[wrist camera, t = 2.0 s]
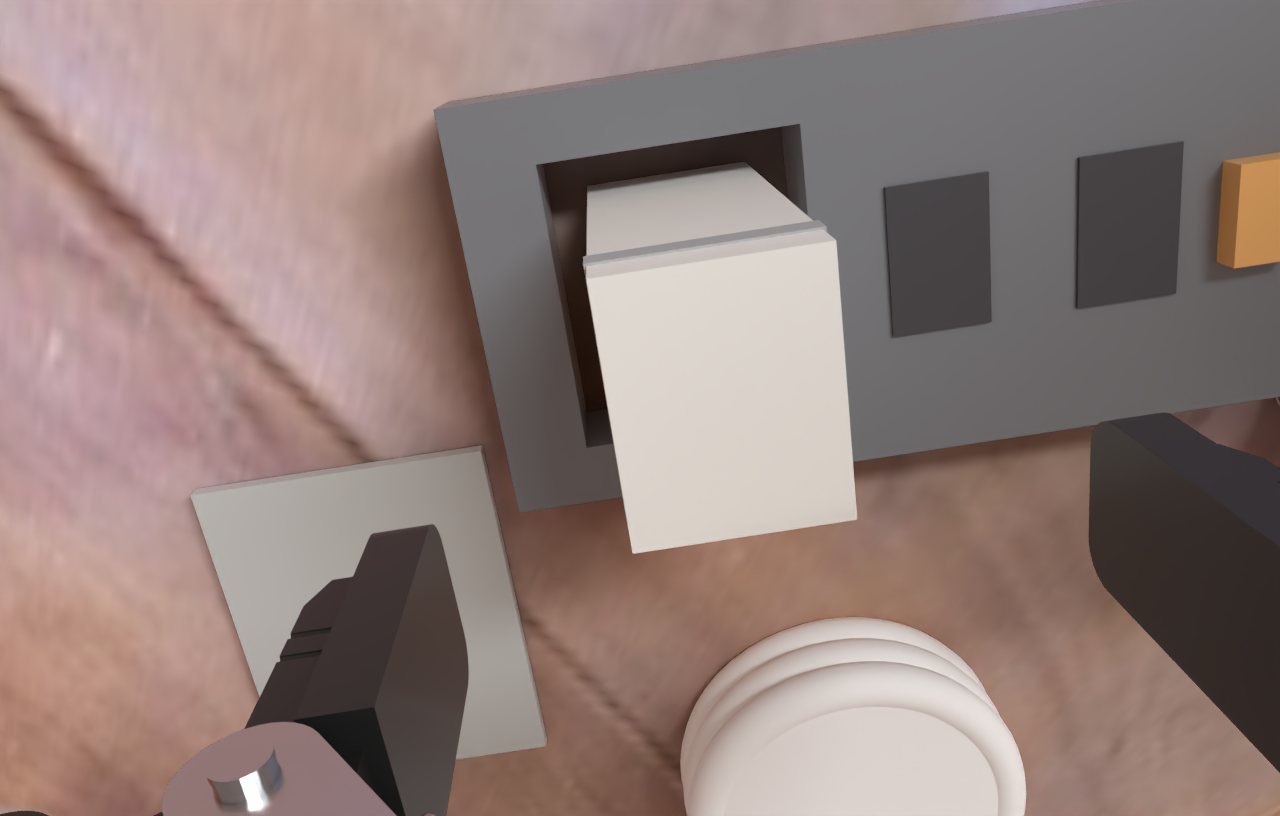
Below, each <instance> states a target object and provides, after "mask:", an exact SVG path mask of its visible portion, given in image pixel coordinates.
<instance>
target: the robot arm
mask: <svg viewBox="0 0 1280 816" xmlns="http://www.w3.org/2000/svg"><path fill="white" fill-rule="evenodd" d="M1089 546H1090V553H1091V557H1092V561H1093V564H1094V567H1095V570H1096V572H1097V575H1098V577H1099V579H1100V581H1101V582H1102V584H1103V586H1104V587H1105V588H1106V589H1107V591H1108V592H1109V593H1110V594H1111V595H1112V596H1113V597H1114V598H1115V599H1116V600H1117V601H1118V602H1119V603H1120V604H1121V605H1122V607H1123V608H1124V609H1125V610H1126V611H1127V612H1128V613H1129V614H1130V615H1131V616H1132V617H1133V618H1134V619H1135V620H1136V621H1137V622H1138V623H1139V624H1140V626H1141V627H1142V628H1143V629H1144V630H1145V631H1146V632H1147V633H1148V634H1149V635H1150V636H1151V637H1152V638H1153V639H1154V640H1155V641H1156V642H1157V643H1158V645H1159V646H1160V647H1161V648H1162V649H1163V650H1164V651H1165V652H1166V653H1167V654H1168V655H1169V656H1170V657H1171V658H1172V659H1173V660H1174V661H1175V662H1176V664H1177V665H1178V666H1179V667H1180V668H1181V669H1182V670H1183V671H1184V672H1185V673H1186V674H1187V675H1188V676H1189V677H1190V678H1191V679H1192V680H1193V682H1194V683H1195V684H1196V685H1197V686H1198V687H1199V688H1200V689H1201V690H1202V691H1203V692H1204V693H1205V694H1206V695H1207V696H1208V697H1209V698H1210V699H1211V701H1212V702H1213V703H1214V704H1215V705H1216V706H1217V707H1218V708H1219V709H1220V710H1221V711H1222V712H1223V713H1224V714H1225V715H1226V716H1227V717H1228V718H1229V720H1230V721H1231V722H1232V723H1233V724H1234V725H1235V726H1236V727H1237V728H1238V729H1239V730H1240V731H1241V732H1242V733H1243V734H1244V735H1245V736H1246V737H1247V739H1248V740H1249V741H1250V742H1251V743H1252V744H1253V745H1254V746H1255V747H1256V748H1257V749H1258V750H1259V751H1260V752H1261V753H1262V754H1263V755H1264V756H1265V758H1266V759H1267V760H1268V761H1269V762H1270V763H1271V764H1272V765H1273V766H1274V767H1275V768H1276V769H1277V770H1278V771H1279V772H1280V469H1279V468H1278V467H1276V466H1275V465H1273V464H1271V463H1270V462H1268V461H1267V460H1265V459H1263V458H1260V457H1257V456H1254V455H1251V454H1248V453H1245V452H1241V451H1238V450H1235V449H1232V448H1229V447H1226V446H1223V445H1220V444H1216V443H1214V442H1213V441H1211V440H1210V439H1208V438H1206V437H1205V436H1203V435H1202V434H1200V433H1199V432H1197V431H1196V430H1194V429H1192V428H1191V427H1189V426H1188V425H1186V424H1185V423H1183V422H1182V421H1180V420H1179V419H1177V418H1175V417H1174V416H1172V415H1170V414H1168V413H1165V412H1162V413H1155V414H1148V415H1142V416H1135V417H1129V418H1123V419H1116V420H1110V421H1103V422H1100V423H1099V424H1098V425H1097V426H1096V427H1095V429H1094V431H1093V434H1092V439H1091V454H1090V502H1089ZM290 634H291V639H287V642H286V644H285V646H284V648H283V650H282V652H281V654H280V656H279V657H280V662H276V664H275V667H274V669H273V671H272V673H271V675H270V677H269V679H268V681H267V683H266V685H265V687H264V689H263V692H262V694H261V696H260V698H259V700H258V702H257V704H256V706H255V708H254V710H253V712H252V714H251V717H250V719H249V721H248V723H247V725H246V727H245V729H243V730H241V731H238V732H235V733H233V734H231V735H228V736H226V737H224V738H222V739H220V740H218V741H216V742H215V743H213V744H211V745H210V746H208V747H206V748H205V749H203V750H202V751H201V752H199V753H198V754H196V755H195V756H194V757H193V758H191V759H190V760H189V761H188V762H187V763H186V764H184V766H183V767H182V768H181V769H180V770H179V771H178V772H177V773H176V774H175V776H174V777H173V778H172V780H171V781H170V783H169V784H168V786H167V788H166V790H165V792H164V795H163V799H162V812H160V813H158V814H156V815H154V816H446V814H447V808H448V802H449V796H450V790H451V784H452V778H453V772H454V766H455V760H456V755H457V749H458V743H459V737H460V731H461V725H462V719H463V713H464V707H465V702H466V696H467V690H468V680H469V666H468V653H467V646H466V640H465V635H464V630H463V626H462V622H461V618H460V614H459V609H458V605H457V601H456V597H455V593H454V589H453V585H452V581H451V576H450V572H449V568H448V564H447V560H446V556H445V552H444V548H443V544H442V540H441V537H440V534H439V532H438V530H437V528H436V526H435V525H433V524H430V525H423V526H417V527H410V528H404V529H397V530H391V531H385V532H378V533H372V534H371V535H370V537H369V539H368V542H367V544H366V547H365V549H364V551H363V554H362V556H361V559H360V561H359V563H358V566H357V568H356V571H355V573H354V575H353V577H347V578H341V579H335V580H332V581H330V582H329V583H328V584H327V585H326V586H325V587H324V588H323V589H322V590H321V591H319V592H318V593H317V594H316V595H315V596H314V597H313V598H312V599H311V600H310V601H309V602H307V603H306V604H305V605H304V606H303V608H302V610H301V612H300V614H299V617H298V619H297V621H296V623H295V625H294V627H293V629H292V631H291V633H290ZM0 816H48V815H46V814H44V813H40V812H35V811H17V812H9V813H4V814H0Z"/></svg>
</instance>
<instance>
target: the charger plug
mask: <svg viewBox="0 0 1280 816" xmlns="http://www.w3.org/2000/svg"><path fill="white" fill-rule="evenodd" d="M583 267H584V273H585V279H586V285H587V291H588V297H589V303H590V309H591V315H592V320H593V326H594V332H595V338H596V344H597V350H598V356H599V362H600V368H601V374H602V380H603V386H604V391H605V397H606V403H607V409H608V415H609V421H610V427H611V433H612V439H613V445H614V451H615V456H616V462H617V468H618V474H619V480H620V486H621V492H622V498H623V504H624V510H625V516H626V522H627V527H628V533H629V535H630V541H631V547H632V553H633V554H635V553H642V552H648V551H655V550H661V549H668V548H674V547H681V546H687V545H694V544H701V543H707V542H714V541H720V540H727V539H733V538H740V537H747V536H753V535H760V534H766V533H773V532H779V531H786V530H792V529H799V528H806V527H812V526H819V525H825V524H832V523H838V522H845V521H851V520H857V509H856V496H855V483H854V469H853V456H852V443H851V429H850V416H849V403H848V389H847V376H846V363H845V349H844V336H843V323H842V309H841V296H840V283H839V269H838V256H837V243H836V240H835V239H834V238H833V237H832V236H831V235H829V234H828V233H827V226H826V225H824V224H823V223H822V222H821V221H820V220H815V221H813V220H812V219H811V218H810V217H808V216H807V215H806V214H805V213H804V212H803V211H801V210H800V209H799V208H798V207H797V206H796V205H794V204H793V203H792V202H791V201H790V200H789V199H787V198H786V197H785V196H784V195H783V194H782V193H780V192H779V191H778V190H777V189H776V188H775V187H773V186H772V185H771V184H770V183H769V182H768V181H766V180H765V179H764V178H763V177H762V176H761V175H759V174H758V173H757V172H756V171H755V170H754V169H752V168H751V167H750V166H749V165H748V164H747V163H745V162H738V163H732V164H725V165H719V166H713V167H706V168H700V169H693V170H687V171H680V172H674V173H668V174H661V175H655V176H648V177H642V178H635V179H629V180H622V181H616V182H610V183H603V184H597V185H590V186H587V256H583Z"/></svg>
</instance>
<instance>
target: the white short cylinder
mask: <svg viewBox="0 0 1280 816" xmlns="http://www.w3.org/2000/svg"><path fill="white" fill-rule="evenodd" d="M680 766H681V780H682V784H683V790H684V805H685V809H686V813H687V816H1024V813H1025V803H1026V784H1025V774H1024V768H1023V764H1022V760H1021V757H1020V753H1019V749H1018V747H1017V745H1016V743H1015V741H1014V738H1013V736H1012V734H1011V732H1010V731H1009V729H1008V728H1007V726H1006V725H1005V723H1004V722H1003V720H1002V719H1001V717H1000V715H999V713H998V711H997V709H996V707H995V705H994V704H993V703H992V701H991V700H990V698H989V697H988V695H987V694H986V692H985V690H984V687H983V685H982V684H981V682H980V681H979V679H978V678H977V676H976V675H975V673H974V672H973V670H972V669H971V668H970V667H969V666H968V665H967V664H966V663H965V662H964V661H963V660H962V659H961V658H960V657H959V656H958V655H957V654H955V653H954V652H953V651H952V650H950V649H949V648H948V647H946V646H945V645H944V644H942V643H941V642H940V641H938V640H936V639H935V638H933V637H931V636H929V635H927V634H926V633H924V632H922V631H920V630H917V629H914V628H912V627H909V626H907V625H904V624H900V623H896V622H892V621H888V620H883V619H875V618H866V617H839V618H830V619H822V620H817V621H813V622H808V623H804V624H800V625H797V626H794V627H791V628H788V629H785V630H783V631H780V632H778V633H776V634H774V635H771V636H769V637H767V638H765V639H763V640H761V641H759V642H758V643H756V644H754V645H752V646H751V647H749V648H747V649H746V650H745V651H743V652H742V653H740V654H739V655H738V656H736V657H735V658H734V659H732V660H731V661H730V662H729V663H728V664H727V665H726V666H725V667H724V668H723V669H722V670H721V671H719V672H718V673H717V675H716V676H715V677H714V678H713V679H712V681H711V682H710V683H709V684H708V685H707V687H706V688H705V689H704V691H703V693H702V694H701V696H700V697H699V699H698V701H697V702H696V704H695V706H694V708H693V711H692V713H691V715H690V718H689V720H688V723H687V726H686V730H685V734H684V738H683V742H682V748H681V759H680Z"/></svg>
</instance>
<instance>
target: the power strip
mask: <svg viewBox="0 0 1280 816" xmlns="http://www.w3.org/2000/svg"><path fill="white" fill-rule="evenodd" d="M434 115H435V120H436V124H437V129H438V134H439V139H440V143H441V148H442V153H443V157H444V162H445V167H446V172H447V176H448V181H449V186H450V190H451V195H452V200H453V205H454V209H455V214H456V219H457V223H458V228H459V233H460V238H461V242H462V247H463V252H464V256H465V261H466V266H467V271H468V275H469V280H470V285H471V290H472V294H473V299H474V304H475V308H476V313H477V318H478V323H479V327H480V332H481V337H482V341H483V346H484V351H485V356H486V360H487V365H488V370H489V374H490V379H491V384H492V389H493V393H494V398H495V403H496V407H497V412H498V417H499V422H500V426H501V431H502V436H503V440H504V445H505V450H506V455H507V459H508V464H509V469H510V473H511V478H512V483H513V488H514V492H515V497H516V502H517V506H518V511H519V513H523V512H529V511H536V510H542V509H549V508H555V507H562V506H568V505H575V504H581V503H588V502H594V501H601V500H608V499H614V498H621V497H622V492H621V486H620V480H619V474H618V468H617V462H616V456H615V451H614V445H613V439H612V433H611V427H610V421H609V415H608V409H603V410H596V411H590V412H587V409H586V404H585V398H584V393H583V387H582V381H581V376H580V370H579V364H578V359H577V353H576V347H575V342H574V336H573V331H572V325H571V319H570V314H569V308H568V302H567V297H566V291H565V285H564V280H563V274H562V268H561V263H560V257H559V252H558V246H557V240H556V235H555V229H554V223H553V218H552V212H551V206H550V201H549V195H548V189H547V184H546V178H545V173H544V167H543V164H544V163H550V162H557V161H563V160H570V159H576V158H583V157H589V156H596V155H602V154H608V153H615V152H621V151H628V150H634V149H641V148H647V147H653V146H660V145H666V144H673V143H679V142H686V141H692V140H699V139H705V138H711V137H718V136H724V135H731V134H737V133H744V132H750V131H756V130H763V129H769V128H776V127H781V129H782V140H783V151H784V162H785V172H786V183H787V194H788V199H789V200H790V201H791V202H792V203H793V204H794V205H796V206H797V207H798V208H799V209H800V210H801V211H803V212H804V213H805V214H806V215H807V216H808V217H810V218H811V219H812V220H813V221H815V220H820V221H821V222H822V223H823V224H824V225H826V226H827V233H828V234H829V235H831V236H832V237H833V238H834V239H835V240H836V243H837V256H838V269H839V283H840V296H841V309H842V323H843V336H844V349H845V363H846V376H847V389H848V403H849V416H850V429H851V443H852V456H853V462H856V461H863V460H869V459H876V458H882V457H889V456H895V455H902V454H909V453H915V452H922V451H928V450H935V449H941V448H948V447H954V446H961V445H967V444H974V443H981V442H987V441H994V440H1000V439H1007V438H1013V437H1020V436H1026V435H1033V434H1039V433H1046V432H1053V431H1059V430H1066V429H1072V428H1079V427H1085V426H1092V425H1098V424H1099V423H1100V422H1103V421H1110V420H1116V419H1123V418H1129V417H1135V416H1142V415H1148V414H1155V413H1162V412H1165V413H1168V414H1170V413H1177V412H1183V411H1190V410H1196V409H1203V408H1210V407H1216V406H1223V405H1229V404H1236V403H1242V402H1249V401H1255V400H1262V399H1268V398H1275V397H1280V0H1099V1H1092V2H1086V3H1079V4H1073V5H1067V6H1060V7H1054V8H1047V9H1041V10H1035V11H1028V12H1022V13H1015V14H1009V15H1002V16H996V17H990V18H983V19H977V20H970V21H964V22H958V23H951V24H945V25H938V26H932V27H926V28H919V29H913V30H906V31H900V32H893V33H887V34H881V35H874V36H868V37H861V38H855V39H849V40H842V41H836V42H829V43H823V44H817V45H810V46H804V47H797V48H791V49H784V50H778V51H772V52H765V53H759V54H752V55H746V56H740V57H733V58H727V59H720V60H714V61H708V62H701V63H695V64H688V65H682V66H675V67H669V68H663V69H656V70H650V71H643V72H637V73H631V74H624V75H618V76H611V77H605V78H599V79H592V80H586V81H579V82H573V83H566V84H560V85H554V86H547V87H541V88H534V89H528V90H522V91H515V92H509V93H502V94H496V95H490V96H483V97H477V98H470V99H464V100H457V101H451V102H447V103H445V104H443V105H442V106H440V107H438V108H436V109H434Z"/></svg>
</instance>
